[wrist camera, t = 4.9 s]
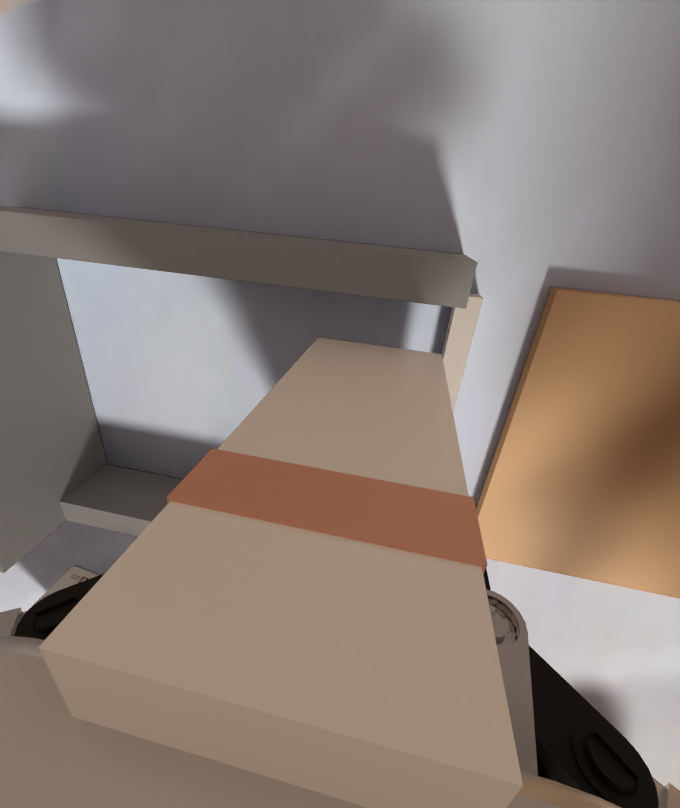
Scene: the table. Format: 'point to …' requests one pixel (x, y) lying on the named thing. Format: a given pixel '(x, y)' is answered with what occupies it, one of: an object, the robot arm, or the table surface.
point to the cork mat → (593, 446)
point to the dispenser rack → (63, 371)
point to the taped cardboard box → (312, 599)
